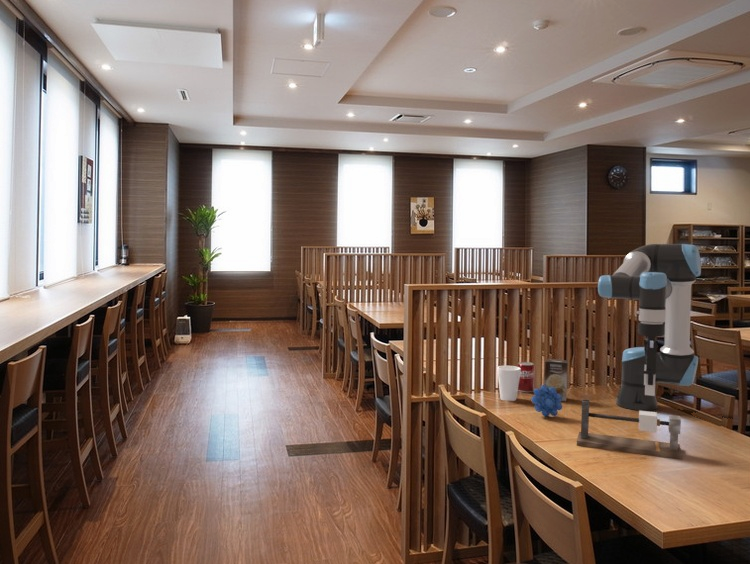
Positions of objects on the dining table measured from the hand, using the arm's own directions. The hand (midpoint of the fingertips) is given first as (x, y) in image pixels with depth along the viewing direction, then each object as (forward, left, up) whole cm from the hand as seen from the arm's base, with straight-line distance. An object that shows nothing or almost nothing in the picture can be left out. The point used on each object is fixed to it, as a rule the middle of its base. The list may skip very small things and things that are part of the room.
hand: (649, 390), depth 187 cm
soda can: (-16, -75, -19) cm, 79 cm away
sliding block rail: (+4, -4, -19) cm, 20 cm away
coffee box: (-18, -59, -19) cm, 65 cm away
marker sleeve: (0, 0, -12) cm, 12 cm away
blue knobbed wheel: (+4, -40, -19) cm, 45 cm away
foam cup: (0, -67, -19) cm, 70 cm away
